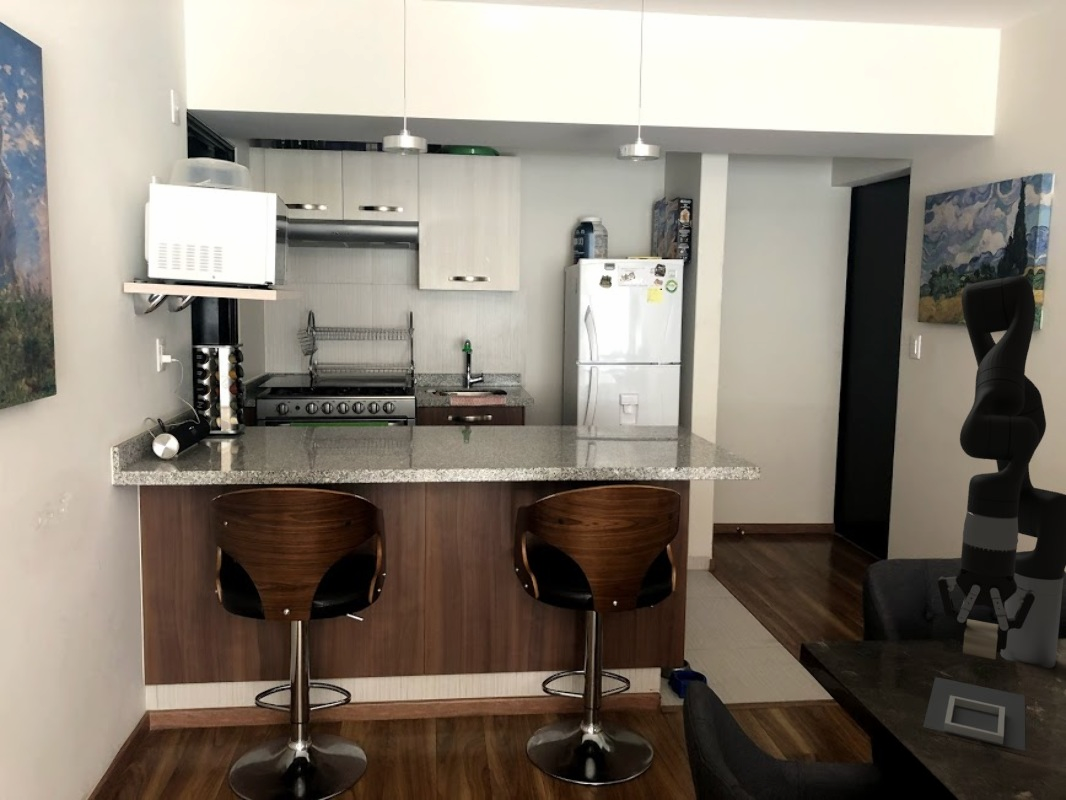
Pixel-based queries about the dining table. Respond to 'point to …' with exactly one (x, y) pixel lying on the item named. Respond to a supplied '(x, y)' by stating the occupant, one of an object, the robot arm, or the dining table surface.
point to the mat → (976, 718)
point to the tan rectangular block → (980, 639)
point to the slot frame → (970, 730)
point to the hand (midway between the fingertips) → (980, 646)
